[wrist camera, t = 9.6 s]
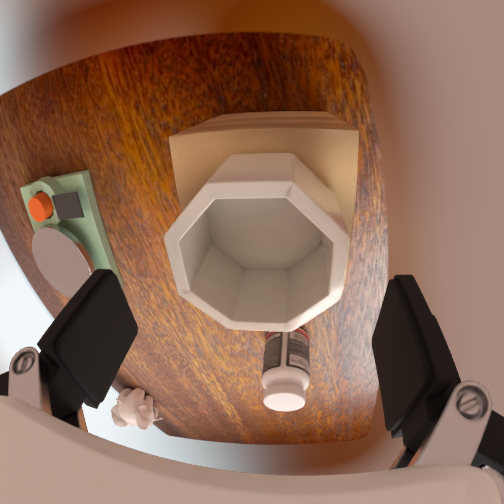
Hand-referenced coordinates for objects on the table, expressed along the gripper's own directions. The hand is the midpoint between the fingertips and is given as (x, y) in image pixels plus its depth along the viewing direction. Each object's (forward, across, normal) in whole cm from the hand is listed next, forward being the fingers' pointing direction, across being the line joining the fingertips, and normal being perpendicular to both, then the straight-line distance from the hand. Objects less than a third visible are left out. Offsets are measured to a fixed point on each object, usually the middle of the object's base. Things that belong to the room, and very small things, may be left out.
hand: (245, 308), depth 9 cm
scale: (+18, +27, +6) cm, 33 cm away
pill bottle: (+19, -1, +22) cm, 29 cm away
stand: (+18, 0, 0) cm, 18 cm away
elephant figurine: (+19, +30, +48) cm, 59 cm away
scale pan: (+15, +26, +7) cm, 31 cm away
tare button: (+16, +27, +1) cm, 31 cm away
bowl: (+6, 0, 0) cm, 6 cm away
